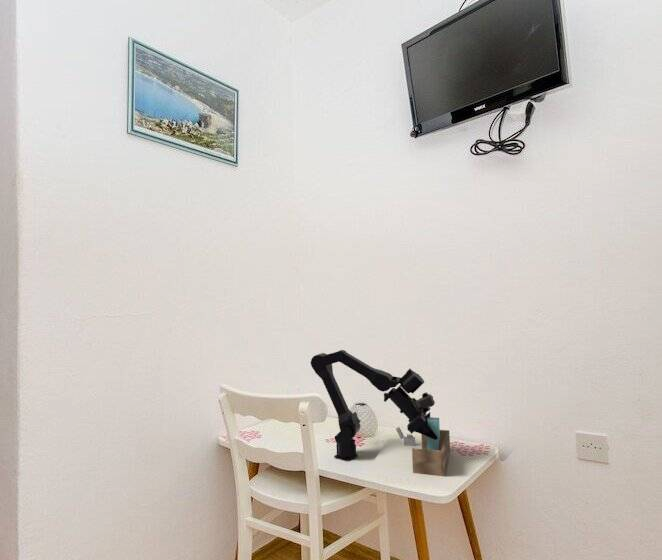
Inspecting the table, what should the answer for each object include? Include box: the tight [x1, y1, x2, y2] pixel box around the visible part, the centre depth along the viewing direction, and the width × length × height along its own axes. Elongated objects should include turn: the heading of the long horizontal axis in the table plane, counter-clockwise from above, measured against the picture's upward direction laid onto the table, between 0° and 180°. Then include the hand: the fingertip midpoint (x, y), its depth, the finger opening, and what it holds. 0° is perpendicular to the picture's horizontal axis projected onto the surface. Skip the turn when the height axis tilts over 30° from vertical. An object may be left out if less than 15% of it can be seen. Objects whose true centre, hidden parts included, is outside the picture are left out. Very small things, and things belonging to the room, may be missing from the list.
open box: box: [411, 429, 451, 478], centre depth 144 cm, size 10×23×9 cm, turn 160°
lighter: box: [395, 426, 416, 447], centre depth 162 cm, size 7×2×8 cm, turn 78°
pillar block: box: [427, 416, 441, 451], centre depth 144 cm, size 4×4×11 cm
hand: (437, 436), depth 144 cm, fingers closed on pillar block, 4 cm apart
